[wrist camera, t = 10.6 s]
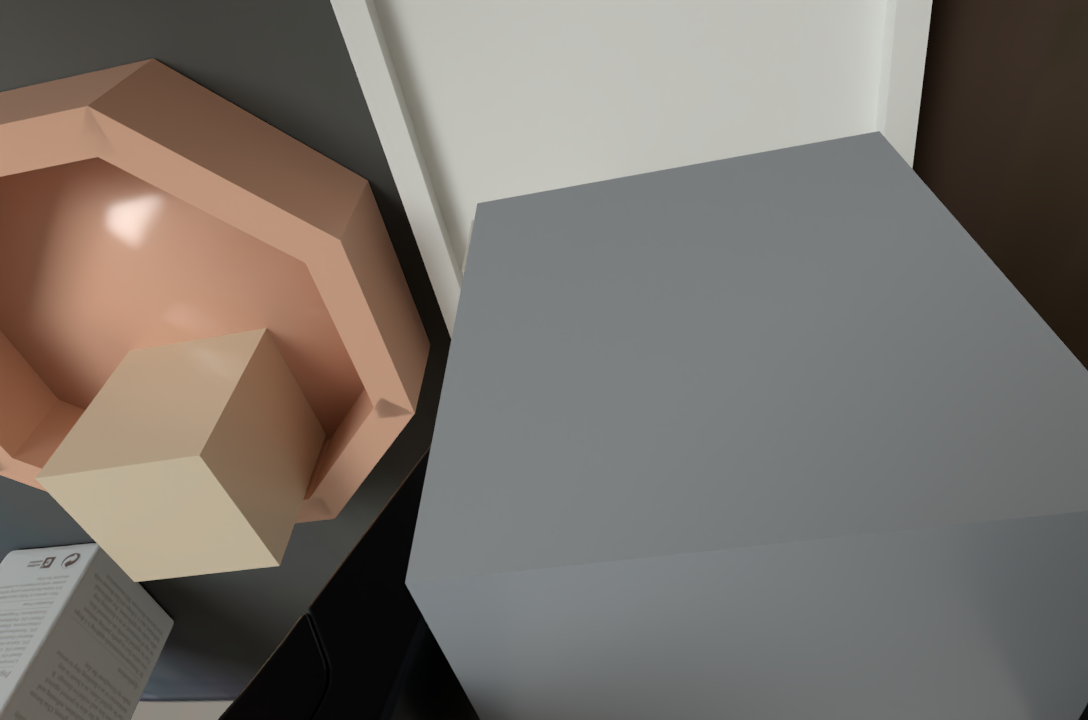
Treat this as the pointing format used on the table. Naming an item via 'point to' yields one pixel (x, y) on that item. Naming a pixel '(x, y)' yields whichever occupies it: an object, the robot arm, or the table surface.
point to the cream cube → (191, 458)
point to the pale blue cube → (754, 457)
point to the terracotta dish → (191, 263)
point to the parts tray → (614, 93)
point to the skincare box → (74, 635)
